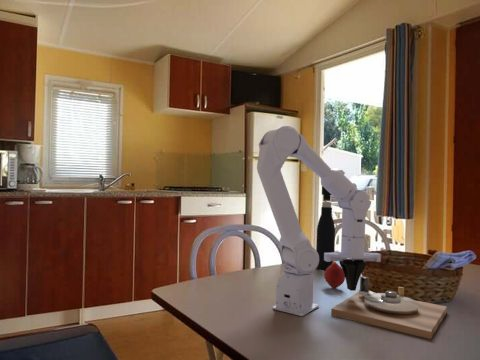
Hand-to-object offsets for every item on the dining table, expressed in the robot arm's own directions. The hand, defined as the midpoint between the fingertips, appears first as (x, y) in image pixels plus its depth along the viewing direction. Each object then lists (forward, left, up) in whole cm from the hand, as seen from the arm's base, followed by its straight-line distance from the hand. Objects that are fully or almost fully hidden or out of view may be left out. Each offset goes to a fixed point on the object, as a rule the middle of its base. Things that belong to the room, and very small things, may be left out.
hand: (351, 289), depth 98 cm
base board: (-1, -10, -4) cm, 11 cm away
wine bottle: (+34, +22, -4) cm, 41 cm away
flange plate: (0, -8, -2) cm, 8 cm away
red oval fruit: (+11, +9, -4) cm, 15 cm away
